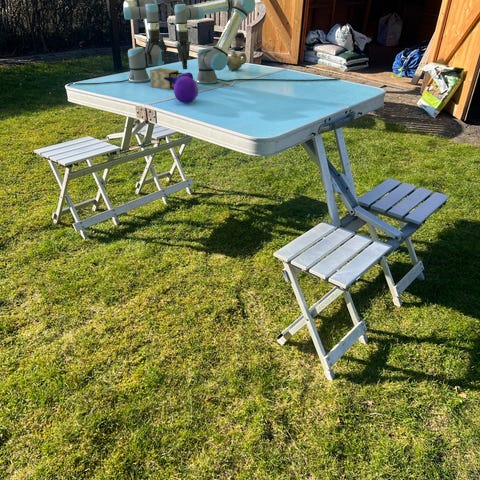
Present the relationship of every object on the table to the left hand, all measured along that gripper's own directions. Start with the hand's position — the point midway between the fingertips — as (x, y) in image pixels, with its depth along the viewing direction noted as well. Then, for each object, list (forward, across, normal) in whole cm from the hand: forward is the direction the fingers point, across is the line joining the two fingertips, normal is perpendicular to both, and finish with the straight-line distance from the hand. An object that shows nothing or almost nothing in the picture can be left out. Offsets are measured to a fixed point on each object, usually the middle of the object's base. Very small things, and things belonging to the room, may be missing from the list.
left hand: (157, 62), depth 315 cm
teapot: (+16, +77, -13) cm, 80 cm away
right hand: (+2, 0, -26) cm, 26 cm away
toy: (+15, -27, -45) cm, 55 cm away
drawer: (+15, 0, -18) cm, 23 cm away
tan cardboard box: (+16, 0, -6) cm, 17 cm away
